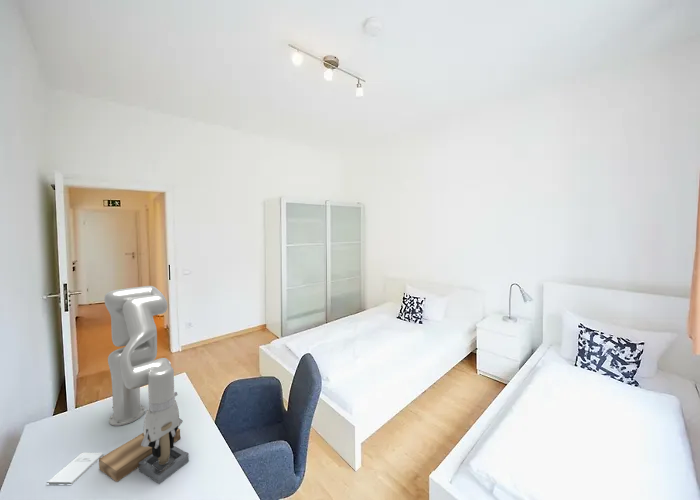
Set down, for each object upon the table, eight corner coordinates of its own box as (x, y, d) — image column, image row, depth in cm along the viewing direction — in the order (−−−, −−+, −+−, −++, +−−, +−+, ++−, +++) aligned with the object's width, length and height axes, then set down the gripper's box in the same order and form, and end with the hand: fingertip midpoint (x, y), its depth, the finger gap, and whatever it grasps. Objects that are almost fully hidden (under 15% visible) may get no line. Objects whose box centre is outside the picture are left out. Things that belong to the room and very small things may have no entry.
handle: (162, 470, 98) (160, 429, 97) (151, 463, 101) (150, 423, 100) (176, 460, 103) (175, 421, 101) (165, 453, 106) (164, 415, 104)
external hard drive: (46, 486, 94) (81, 456, 106) (71, 486, 94) (103, 456, 106) (46, 482, 94) (80, 452, 106) (71, 482, 94) (103, 452, 106)
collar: (138, 470, 100) (138, 462, 99) (168, 450, 109) (168, 442, 109) (159, 484, 95) (158, 475, 95) (188, 461, 104) (188, 453, 104)
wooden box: (99, 469, 100) (98, 458, 100) (163, 429, 120) (163, 420, 119) (116, 482, 95) (116, 470, 95) (180, 438, 115) (180, 429, 115)
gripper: (178, 387, 109) (179, 432, 111) (129, 413, 94) (131, 464, 96) (191, 393, 106) (192, 439, 108) (142, 420, 91) (144, 473, 93)
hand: (163, 450), depth 102 cm, fingers closed on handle, 3 cm apart
